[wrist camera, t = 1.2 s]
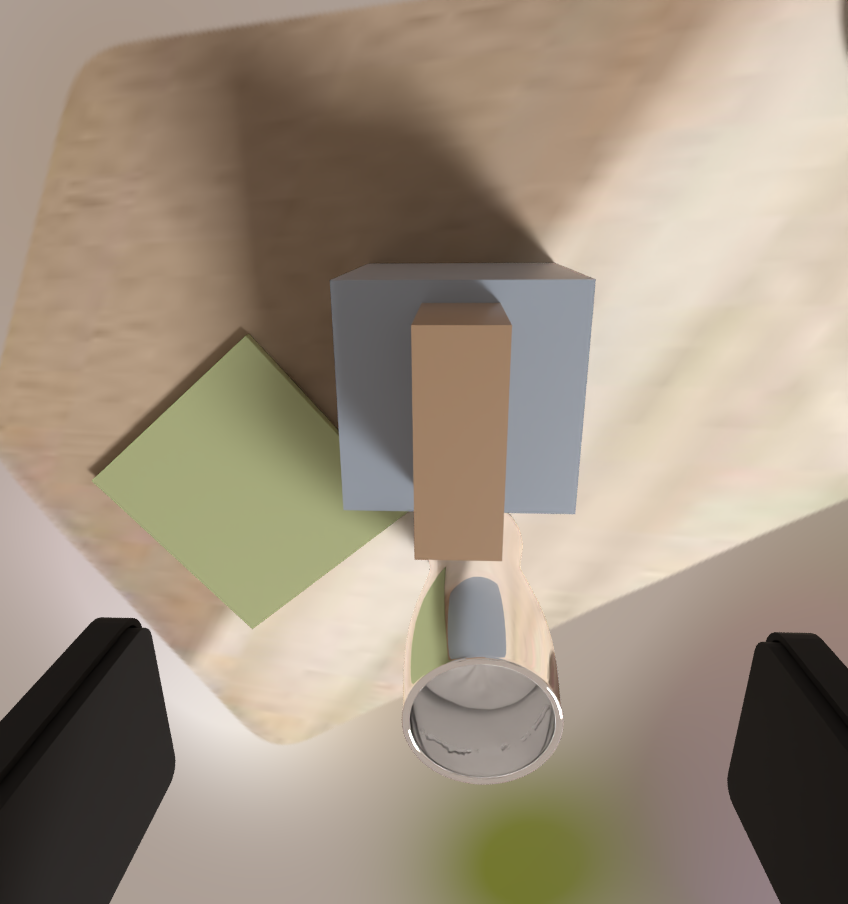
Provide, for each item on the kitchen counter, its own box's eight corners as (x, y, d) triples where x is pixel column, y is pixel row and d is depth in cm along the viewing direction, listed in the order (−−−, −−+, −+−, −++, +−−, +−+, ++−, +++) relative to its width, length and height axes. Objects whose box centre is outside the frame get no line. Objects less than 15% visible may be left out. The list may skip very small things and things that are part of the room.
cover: (554, 262, 33) (635, 295, 18) (543, 434, 36) (603, 585, 21) (368, 263, 33) (293, 296, 18) (374, 433, 37) (315, 578, 22)
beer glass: (476, 471, 37) (486, 623, 23) (552, 545, 38) (605, 729, 24) (396, 541, 39) (361, 720, 25) (471, 609, 40) (478, 814, 26)
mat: (249, 333, 35) (245, 335, 34) (409, 507, 38) (408, 511, 38) (97, 477, 39) (91, 480, 38) (255, 623, 42) (252, 629, 41)
